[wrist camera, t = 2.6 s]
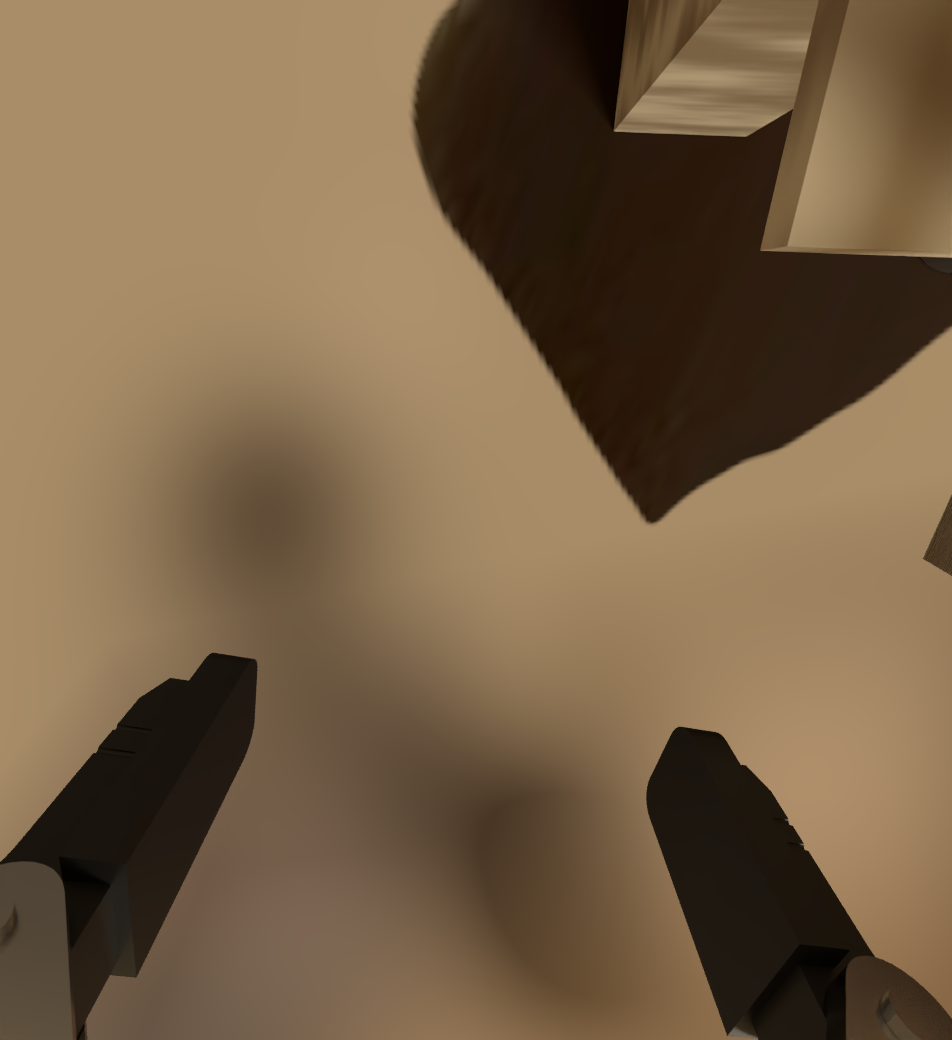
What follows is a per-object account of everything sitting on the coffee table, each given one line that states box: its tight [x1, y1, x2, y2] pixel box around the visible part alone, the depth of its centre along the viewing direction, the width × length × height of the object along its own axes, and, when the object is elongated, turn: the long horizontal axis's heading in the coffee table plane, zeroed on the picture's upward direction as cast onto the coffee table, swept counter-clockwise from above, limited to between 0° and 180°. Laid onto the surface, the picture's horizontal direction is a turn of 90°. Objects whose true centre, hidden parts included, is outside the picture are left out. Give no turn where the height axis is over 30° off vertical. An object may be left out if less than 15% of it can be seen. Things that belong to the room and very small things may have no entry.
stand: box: [614, 0, 952, 258], centre depth 24 cm, size 22×12×30 cm, turn 178°
